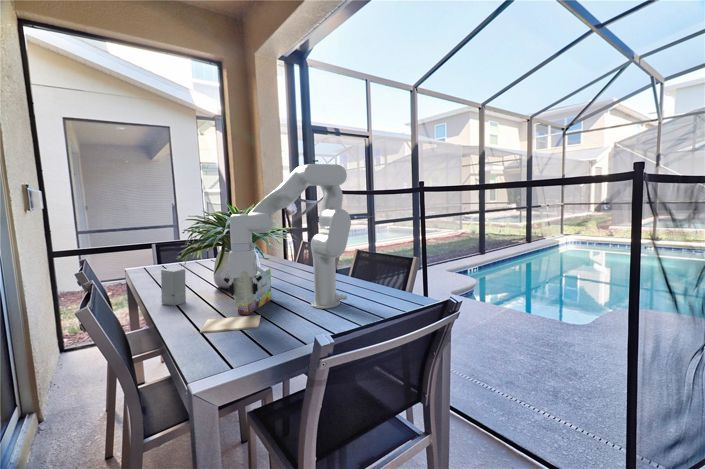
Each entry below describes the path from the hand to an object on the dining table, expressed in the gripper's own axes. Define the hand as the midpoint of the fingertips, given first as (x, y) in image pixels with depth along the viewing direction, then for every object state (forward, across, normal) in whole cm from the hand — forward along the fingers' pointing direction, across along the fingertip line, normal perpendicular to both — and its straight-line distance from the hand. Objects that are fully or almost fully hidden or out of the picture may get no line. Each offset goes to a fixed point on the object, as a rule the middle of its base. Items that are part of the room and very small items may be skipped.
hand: (243, 293), depth 128 cm
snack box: (+12, -2, -20) cm, 23 cm away
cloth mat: (+12, +5, 0) cm, 12 cm away
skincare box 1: (+12, +35, -34) cm, 50 cm away
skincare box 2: (+4, 0, 0) cm, 4 cm away
